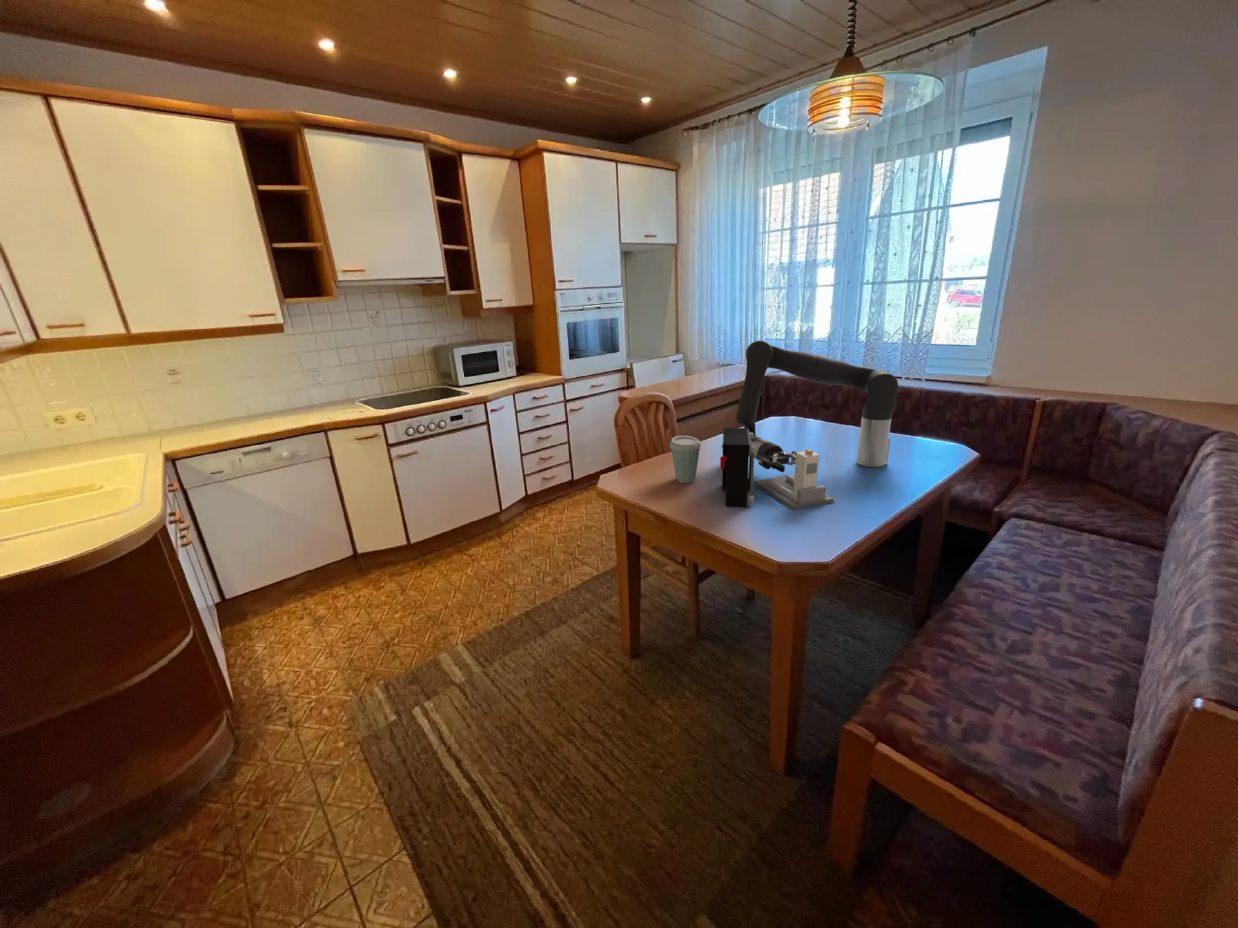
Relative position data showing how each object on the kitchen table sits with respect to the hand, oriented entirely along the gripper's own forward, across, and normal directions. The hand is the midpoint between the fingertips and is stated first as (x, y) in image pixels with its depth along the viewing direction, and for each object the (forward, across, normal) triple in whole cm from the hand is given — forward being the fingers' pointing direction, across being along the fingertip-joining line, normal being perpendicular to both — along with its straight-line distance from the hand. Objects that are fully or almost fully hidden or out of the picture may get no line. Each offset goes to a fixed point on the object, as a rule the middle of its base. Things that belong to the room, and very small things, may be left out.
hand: (795, 467), depth 153 cm
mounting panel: (-1, 0, +9) cm, 9 cm away
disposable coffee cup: (-25, -26, +9) cm, 37 cm away
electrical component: (-6, -17, +9) cm, 20 cm away
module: (+5, 0, +8) cm, 10 cm away
